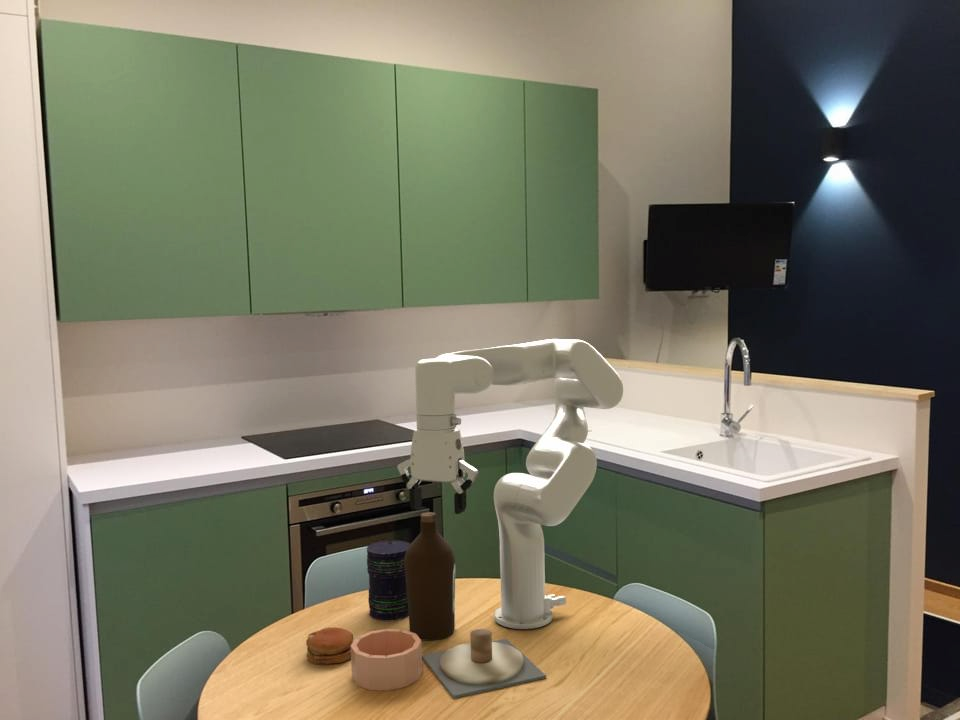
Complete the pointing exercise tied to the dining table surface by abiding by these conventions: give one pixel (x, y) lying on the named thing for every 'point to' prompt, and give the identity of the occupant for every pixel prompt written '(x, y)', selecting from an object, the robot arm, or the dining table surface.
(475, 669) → the lid
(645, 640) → the dining table surface
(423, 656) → the mat
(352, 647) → the bowl
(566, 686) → the dining table surface
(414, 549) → the olive oil
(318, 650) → the burger
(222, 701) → the dining table surface
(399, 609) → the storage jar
